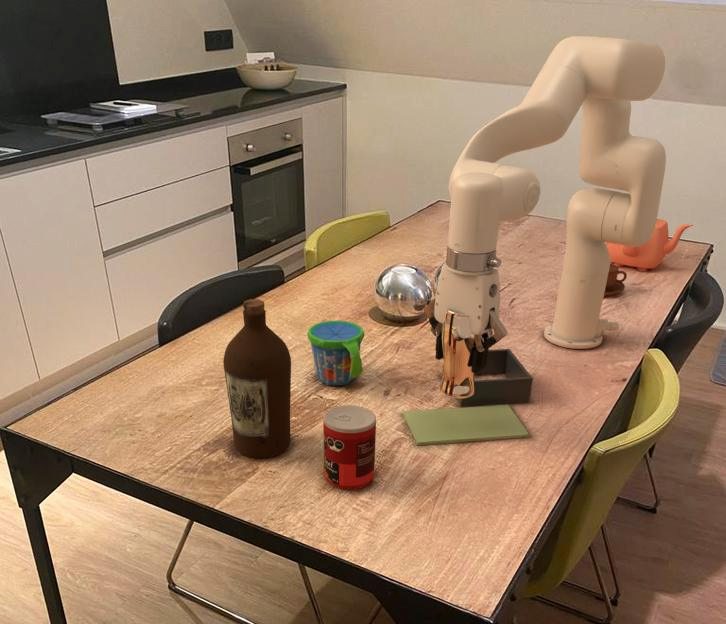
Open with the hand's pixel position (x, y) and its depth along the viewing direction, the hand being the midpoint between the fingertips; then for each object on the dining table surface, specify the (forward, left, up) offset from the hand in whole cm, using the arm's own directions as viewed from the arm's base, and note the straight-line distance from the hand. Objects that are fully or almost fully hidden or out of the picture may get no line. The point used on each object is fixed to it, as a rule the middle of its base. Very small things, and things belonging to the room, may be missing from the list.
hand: (460, 362), depth 128 cm
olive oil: (+34, +1, -13) cm, 36 cm away
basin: (-10, -14, -12) cm, 21 cm away
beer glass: (0, 0, -5) cm, 5 cm away
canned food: (+21, +13, -13) cm, 28 cm away
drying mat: (-2, 0, -12) cm, 12 cm away
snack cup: (+18, -22, -13) cm, 31 cm away
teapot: (-76, -81, -13) cm, 112 cm away
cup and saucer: (-56, -63, -13) cm, 85 cm away
